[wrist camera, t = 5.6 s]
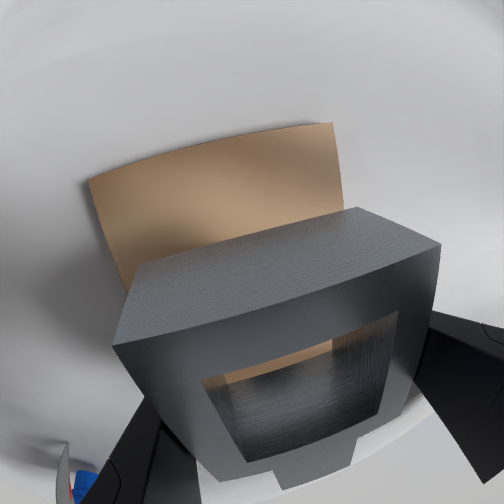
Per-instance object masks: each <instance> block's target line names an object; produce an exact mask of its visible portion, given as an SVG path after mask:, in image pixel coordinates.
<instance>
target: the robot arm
mask: <svg viewBox="0 0 504 504" xmlns="http://www.w3.org/2000/svg"><path fill="white" fill-rule="evenodd" d="M413 381H414V383H415V384H416V385H417V387H418V388H419V389H420V391H421V392H422V394H423V395H424V396H425V398H426V399H427V400H428V402H429V403H430V405H431V406H432V407H433V409H434V410H435V412H436V413H437V414H438V416H439V417H440V419H441V420H442V422H443V423H444V424H445V426H446V427H447V429H448V430H449V432H450V433H451V435H452V436H453V438H454V439H455V441H456V442H457V444H458V445H459V447H460V449H461V450H462V452H463V453H464V455H465V456H466V458H467V459H468V461H469V462H470V464H471V466H472V467H473V468H474V470H475V472H476V474H477V475H478V477H479V478H480V480H481V482H482V483H483V484H485V483H486V482H487V481H489V480H490V479H491V478H493V477H494V476H496V475H497V474H498V473H499V472H501V471H502V470H503V469H504V329H503V328H499V327H494V326H490V325H486V324H483V323H481V324H480V323H479V322H475V321H471V320H467V319H463V318H459V317H456V316H452V315H448V314H444V313H440V312H437V311H433V310H432V312H431V317H430V322H429V326H428V330H427V335H426V339H425V342H424V346H423V350H422V354H421V357H420V361H419V364H418V367H417V370H416V374H415V377H414V380H413ZM109 458H110V459H108V460H107V461H106V463H105V465H104V467H103V468H102V470H101V472H100V473H99V475H98V476H97V478H96V480H95V481H94V483H93V484H92V486H91V487H90V488H89V490H88V491H87V493H86V494H85V495H84V497H83V498H82V499H81V501H80V502H79V503H78V504H202V503H201V496H200V489H199V481H198V473H197V465H196V458H195V457H194V456H193V455H192V454H191V453H190V452H189V450H188V449H187V448H186V447H185V446H184V445H183V444H182V443H181V441H180V440H179V439H178V438H177V437H176V436H175V434H174V433H173V432H172V431H171V430H170V429H169V427H168V426H167V425H166V424H165V422H164V421H163V420H162V419H161V417H160V416H159V415H158V413H157V412H156V411H155V410H154V408H153V407H152V406H151V404H150V403H149V402H148V400H147V399H146V397H144V399H143V400H142V402H141V404H140V405H139V407H138V409H137V410H136V412H135V414H134V416H133V417H132V419H131V421H130V422H129V424H128V426H127V427H126V429H125V431H124V432H123V434H122V436H121V438H120V439H119V441H118V443H117V444H116V446H115V448H114V450H113V451H112V453H111V455H110V456H109Z"/></svg>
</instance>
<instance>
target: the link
mask: <svg viewBox="0 0 504 504" xmlns="http://www.w3.org/2000/svg"><path fill="white" fill-rule="evenodd" d="M440 253H441V244H440V243H438V242H436V241H434V240H432V239H430V238H428V237H426V236H424V235H421V234H419V233H417V232H415V231H413V230H411V229H408V228H406V227H404V226H402V225H399V224H397V223H395V222H393V221H390V220H388V219H386V218H383V217H381V216H378V215H376V214H374V213H371V212H369V211H366V210H364V209H361V208H359V207H355V208H350V209H346V210H342V211H338V212H334V213H330V214H326V215H322V216H318V217H314V218H310V219H306V220H302V221H298V222H294V223H290V224H286V225H282V226H278V227H274V228H270V229H266V230H262V231H259V232H255V233H251V234H247V235H243V236H239V237H236V238H232V239H228V240H224V241H221V242H217V243H213V244H209V245H206V246H202V247H198V248H195V249H191V250H187V251H184V252H180V253H176V254H173V255H169V256H165V257H162V258H158V259H155V260H151V261H148V262H144V263H141V264H139V265H138V268H137V271H136V273H135V276H134V279H133V281H132V284H131V287H130V290H129V293H128V295H127V298H126V301H125V304H124V307H123V310H122V313H121V316H120V319H119V323H118V326H117V329H116V332H115V336H114V339H113V342H112V347H113V349H114V350H115V352H116V354H117V355H118V357H119V359H120V360H121V362H122V363H123V365H124V367H125V368H126V370H127V371H128V373H129V374H130V376H131V377H132V379H133V380H134V382H135V383H136V385H137V386H138V388H139V389H140V390H141V392H142V393H143V395H144V396H145V397H146V399H147V400H148V402H149V403H150V404H151V406H152V407H153V408H154V410H155V411H156V412H157V413H158V415H159V416H160V417H161V419H162V420H163V421H164V422H165V424H166V425H167V426H168V427H169V429H170V430H171V431H172V432H173V433H174V434H175V436H176V437H177V438H178V439H179V440H180V441H181V443H182V444H183V445H184V446H185V447H186V448H187V449H188V450H189V452H190V453H191V454H192V455H193V456H194V457H195V458H196V459H197V460H198V461H199V462H200V463H201V464H202V465H203V466H204V467H205V468H206V469H207V470H208V471H209V472H210V473H211V474H212V475H213V476H214V477H215V478H216V479H217V480H218V481H219V482H222V481H228V480H233V479H238V478H243V477H247V476H251V475H255V474H259V473H263V472H267V471H271V470H273V472H274V474H275V476H276V478H277V481H278V483H279V485H280V487H281V489H282V490H285V489H288V488H292V487H295V486H298V485H301V484H304V483H307V482H310V481H313V480H315V479H318V478H321V477H323V476H326V475H328V474H331V473H333V472H336V471H338V470H341V469H343V468H345V467H347V466H350V463H351V460H352V456H353V453H354V449H355V445H356V441H357V438H359V437H361V436H363V435H365V434H367V433H369V432H371V431H373V430H375V429H377V428H378V427H380V426H382V425H384V424H386V423H388V422H389V421H391V420H393V419H395V418H396V417H398V416H400V415H401V412H402V410H403V407H404V405H405V402H406V400H407V397H408V394H409V391H410V388H411V386H412V383H413V380H414V377H415V374H416V370H417V367H418V364H419V361H420V357H421V354H422V350H423V346H424V342H425V339H426V335H427V330H428V326H429V322H430V317H431V312H432V307H433V302H434V296H435V291H436V284H437V278H438V270H439V262H440ZM331 339H332V350H331V351H328V352H325V353H323V354H320V355H318V356H315V357H312V358H309V359H307V360H304V361H301V362H298V363H295V364H292V365H289V366H286V367H283V368H280V369H277V370H274V371H271V372H268V373H264V374H261V375H258V376H254V377H251V378H247V379H244V380H240V381H237V382H233V383H229V384H227V382H226V379H225V377H224V374H226V373H230V372H233V371H237V370H241V369H244V368H248V367H251V366H255V365H258V364H261V363H265V362H268V361H271V360H274V359H277V358H281V357H284V356H287V355H290V354H293V353H296V352H298V351H301V350H304V349H307V348H310V347H313V346H315V345H318V344H321V343H323V342H326V341H329V340H331Z"/></svg>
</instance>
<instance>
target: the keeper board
mask: <svg viewBox="0 0 504 504" xmlns="http://www.w3.org/2000/svg"><path fill="white" fill-rule="evenodd" d="M87 180H88V184H89V188H90V191H91V195H92V198H93V202H94V205H95V208H96V211H97V215H98V218H99V221H100V224H101V227H102V230H103V233H104V236H105V238H106V241H107V244H108V247H109V250H110V252H111V255H112V258H113V260H114V263H115V265H116V268H117V270H118V273H119V275H120V278H121V280H122V283H123V285H124V287H125V290H126V292H127V294H128V293H129V290H130V287H131V284H132V281H133V279H134V276H135V273H136V271H137V268H138V265H139V264H141V263H144V262H148V261H151V260H155V259H158V258H162V257H165V256H169V255H173V254H176V253H180V252H184V251H187V250H191V249H195V248H198V247H202V246H206V245H209V244H213V243H217V242H221V241H224V240H228V239H232V238H236V237H239V236H243V235H247V234H251V233H255V232H259V231H262V230H266V229H270V228H274V227H278V226H282V225H286V224H290V223H294V222H298V221H302V220H306V219H310V218H314V217H318V216H322V215H326V214H330V213H334V212H338V211H342V210H344V205H343V195H342V185H341V177H340V169H339V161H338V154H337V147H336V140H335V134H334V128H333V122H332V123H321V124H312V125H303V126H295V127H288V128H281V129H274V130H268V131H262V132H256V133H250V134H245V135H240V136H235V137H230V138H225V139H220V140H216V141H211V142H207V143H203V144H199V145H194V146H190V147H187V148H183V149H179V150H175V151H172V152H168V153H164V154H161V155H157V156H154V157H151V158H147V159H144V160H141V161H138V162H135V163H132V164H129V165H126V166H123V167H120V168H117V169H114V170H111V171H108V172H106V173H103V174H100V175H98V176H95V177H92V178H90V179H87ZM331 350H332V339H331V340H329V341H326V342H323V343H321V344H318V345H315V346H313V347H310V348H307V349H304V350H301V351H298V352H296V353H293V354H290V355H287V356H284V357H281V358H277V359H274V360H271V361H268V362H265V363H261V364H258V365H255V366H251V367H248V368H244V369H241V370H237V371H233V372H230V373H226V374H224V377H225V379H226V382H227V384H229V383H233V382H237V381H240V380H244V379H247V378H251V377H254V376H258V375H261V374H264V373H268V372H271V371H274V370H277V369H280V368H283V367H286V366H289V365H292V364H295V363H298V362H301V361H304V360H307V359H309V358H312V357H315V356H318V355H320V354H323V353H325V352H328V351H331Z"/></svg>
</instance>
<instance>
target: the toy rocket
mask: <svg viewBox="0 0 504 504" xmlns="http://www.w3.org/2000/svg"><path fill="white" fill-rule="evenodd" d="M98 475H99V474H96V473H93V472H89V471H83V470H79V471H77V472H76V477H75V484H74V489H72V490H71V485H70V477H69V443H68V442H67V443H66V446H65V448H64V450H63V453H62V456H61V459H60V462H59V466H58V471H57V478H56V504H78V503H79V502H80V501H81V499H82V498H83V497H84V495H85V494H86V493H87V491H88V490H89V488H90V487H91V486H92V484H93V483H94V481H95V480H96V478H97V476H98Z"/></svg>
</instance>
